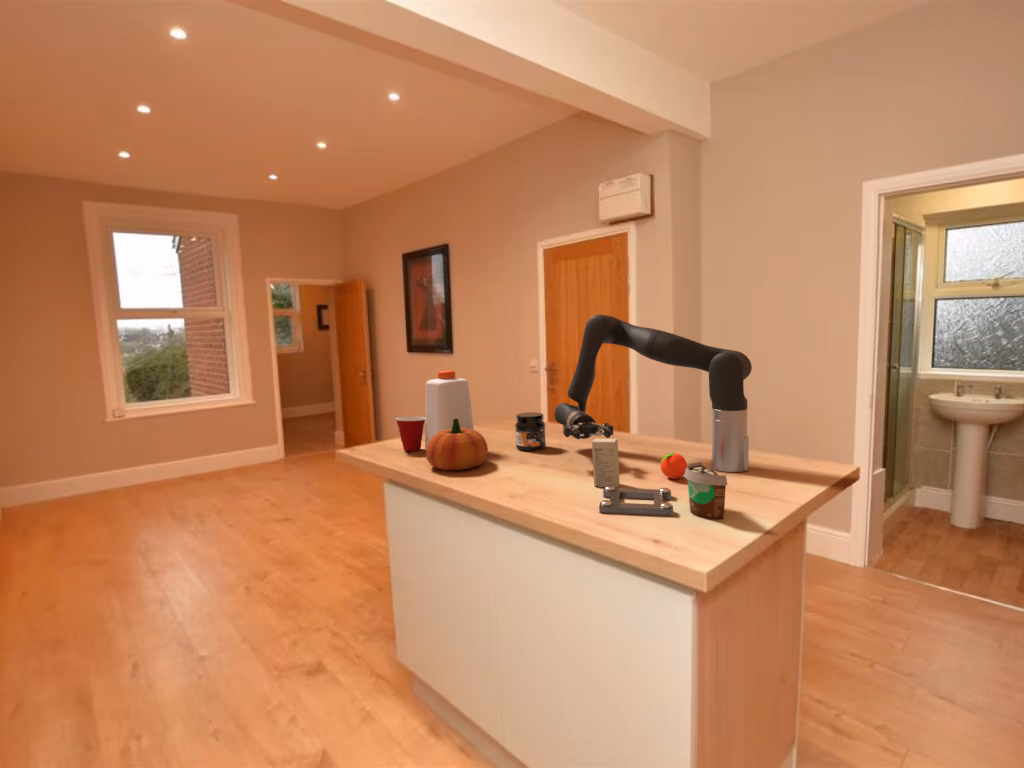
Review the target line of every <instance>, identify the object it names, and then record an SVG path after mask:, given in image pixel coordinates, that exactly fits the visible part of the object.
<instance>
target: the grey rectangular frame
mask: <svg viewBox="0 0 1024 768" xmlns="http://www.w3.org/2000/svg"><path fill="white" fill-rule="evenodd" d="M602 491H603V492H602V497H603V498H609V500H608V499H603V500H601V501H599V505H598V506H599V507H598V509H599V512H598V513H599V514H618V515H619V514H621V515H637V516H639V515H640V516H656V517H657V516H658V517H659V516H661V517H674V505H673V504H672V503H670V502H664V500H665V501H672V490H671V489H670V488H669V487H660V488H659V489H656V488H655V489H654V488H653V489H652V488H624V487H617V488H616V487H614V486H606V487H603V490H602ZM620 499H637V500H638V499H640V500H653V504H652V503H633V502H632V503H631V502H630V503H629V502H620ZM663 499H664V500H663Z"/></svg>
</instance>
